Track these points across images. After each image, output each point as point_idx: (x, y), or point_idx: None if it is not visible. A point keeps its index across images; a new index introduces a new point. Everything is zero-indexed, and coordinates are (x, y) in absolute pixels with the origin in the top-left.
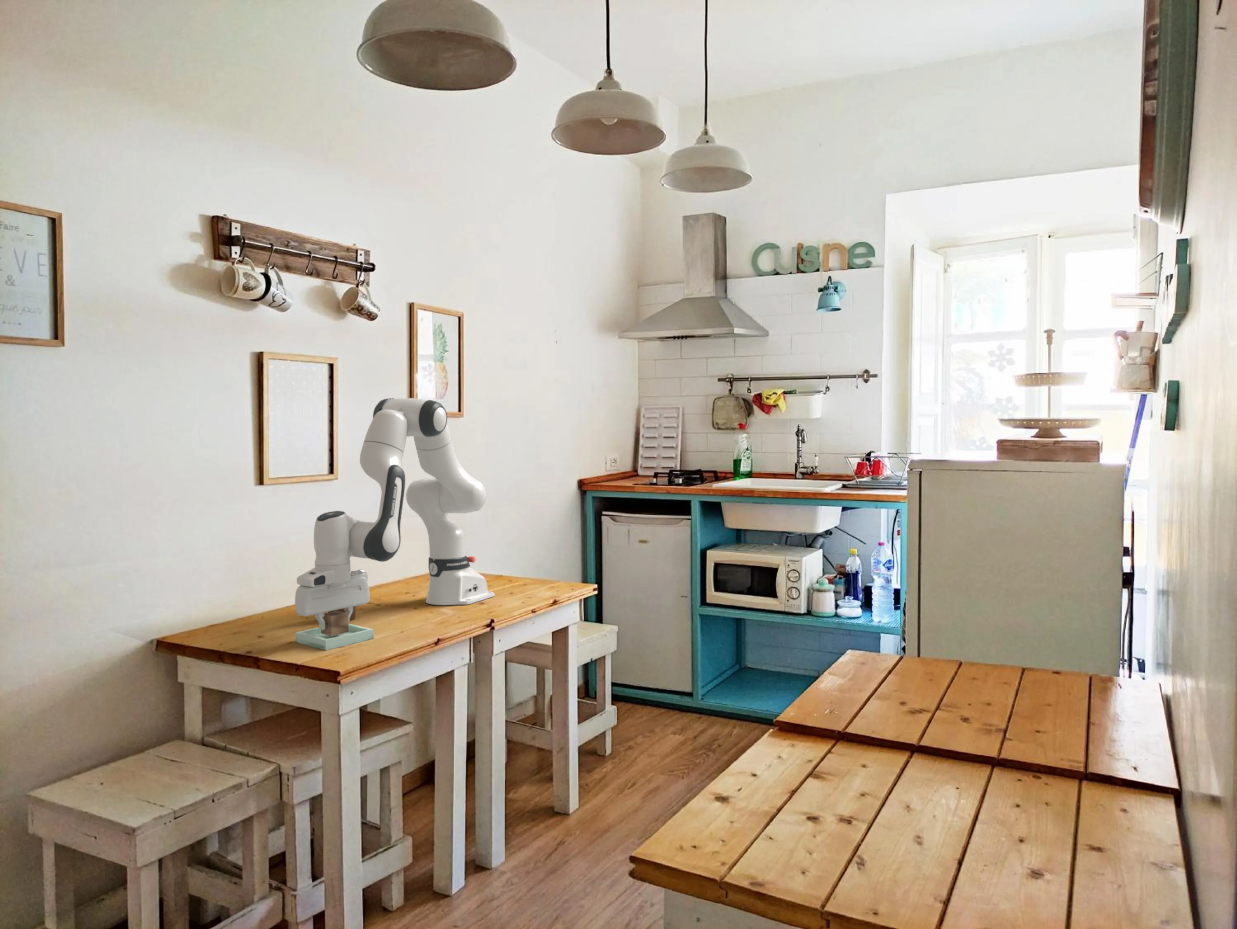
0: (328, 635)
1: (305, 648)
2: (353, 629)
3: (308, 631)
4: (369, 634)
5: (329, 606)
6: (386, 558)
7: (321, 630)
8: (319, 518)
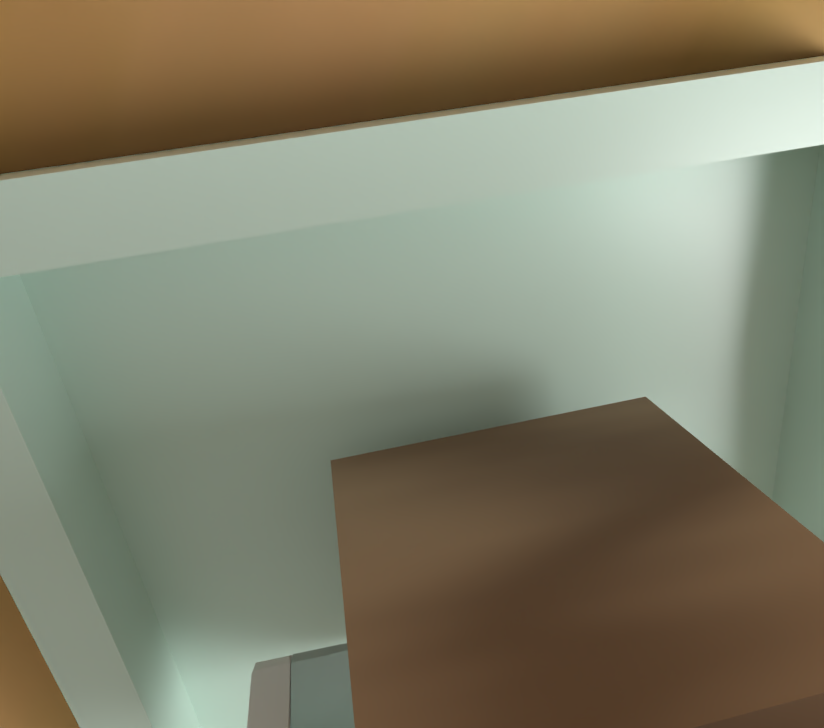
0: (452, 410)
1: (13, 625)
2: (806, 449)
3: (155, 251)
4: None
5: None
6: None
7: (337, 505)
8: None
